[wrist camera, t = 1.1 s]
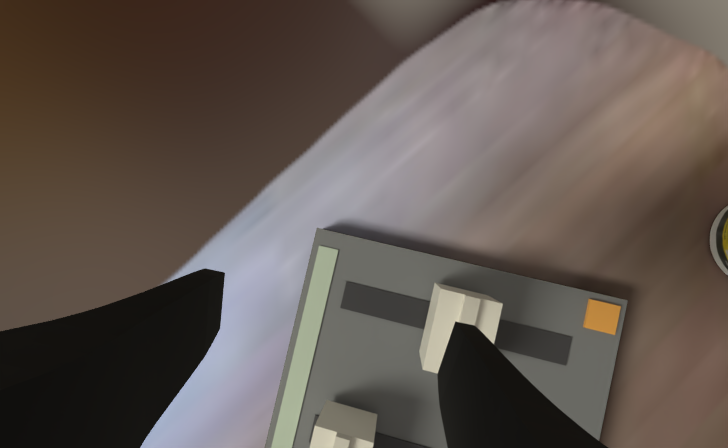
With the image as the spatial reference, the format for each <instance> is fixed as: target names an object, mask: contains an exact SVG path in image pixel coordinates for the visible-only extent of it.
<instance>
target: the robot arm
mask: <svg viewBox="0 0 728 448" xmlns="http://www.w3.org/2000/svg"><path fill="white" fill-rule="evenodd" d="M224 276H225V273H224V272H219V271H214V270H210V269H202V270H199V271H196V272H193V273H191V274H188V275H185V276H183V277H180V278H178V279H175V280H173V281H170V282H168V283H165V284H163V285H160V286H158V287H155V288H153V289H150V290H147V291H145V292H143V293H139V294H137V295H134V296H131V297H128V298H125V299H122V300H120V301H117V302H114V303H111V304H108V305H105V306H102V307H99V308H95V309H92V310H89V311H85V312H82V313H78V314H75V315H71V316H67V317H63V318H60V319H56V320H52V321H48V322H43V323H38V324H33V325H28V326H24V327H19V328H14V329H10V330H5V331H0V448H140V447H141V445H142V443H143V442H144V440H145V438H146V437H147V435H148V434H149V433H150V431H151V430H152V428H153V427H154V425H155V424H156V422H157V421H158V420H159V418H160V417H161V416H162V414H163V413H164V411H165V410H166V409H167V407H168V406H169V405H170V403H171V402H172V401H173V399H174V398H175V397H176V395H177V394H178V393H179V391H180V390H181V388H182V387H183V386H184V384H185V383H186V382H187V380H188V379H189V378H190V376H191V375H192V373H193V372H194V371H195V369H196V368H197V367H198V365H199V364H200V362H201V361H202V360H203V358H204V357H205V355H206V353H207V351H208V350H209V348H210V346H211V344H212V343H213V341H214V339H215V337H216V335H217V333H218V331H219V329H220V322H221V310H222V299H223V287H224ZM437 377H438V394H439V406H440V411H441V417H442V422H443V427H444V432H445V437H446V442H447V447H448V448H608V447H606V446H605V445H604V444H602V443H601V442H600V441H598V440H597V439H596V438H594V437H593V436H592V435H590V434H589V433H588V432H587V431H585V430H584V429H583V428H582V427H580V426H579V425H578V424H577V423H576V422H574V421H573V420H572V419H571V418H570V417H568V416H567V415H566V414H565V413H563V412H562V411H561V410H560V409H559V408H558V407H557V406H555V405H554V404H553V403H552V402H551V401H550V400H549V399H548V398H547V397H546V396H544V395H543V394H542V393H541V392H540V391H539V390H538V389H537V388H536V387H535V386H534V385H533V384H532V383H531V382H530V381H529V380H528V379H527V378H526V377H525V376H524V375H523V374H522V373H521V372H520V371H519V370H518V369H517V368H516V367H515V366H514V365H513V364H512V363H511V362H510V361H509V360H508V359H507V358H506V357H505V356H504V355H503V354H502V353H501V352H500V351H499V349H498V348H497V347H496V346H495V345H494V344H493V343H492V342H491V341H490V340H489V339H488V338H487V337H486V336H485V335H484V334H483V333H482V332H481V331H480V330H479V329H478V328H477V327H476V326H475V325H470V324H465V323H460V322H456V321H455V324H454V327H453V330H452V333H451V336H450V339H449V341H448V344H447V347H446V350H445V353H444V356H443V359H442V362H441V365H440V368H439V371H438V374H437Z"/></svg>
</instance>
